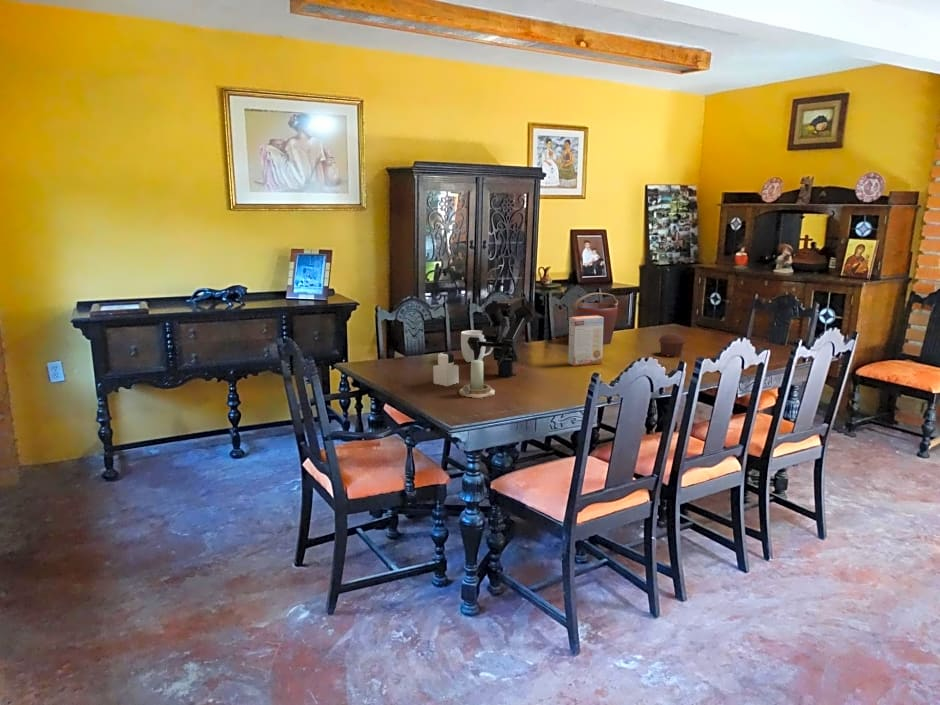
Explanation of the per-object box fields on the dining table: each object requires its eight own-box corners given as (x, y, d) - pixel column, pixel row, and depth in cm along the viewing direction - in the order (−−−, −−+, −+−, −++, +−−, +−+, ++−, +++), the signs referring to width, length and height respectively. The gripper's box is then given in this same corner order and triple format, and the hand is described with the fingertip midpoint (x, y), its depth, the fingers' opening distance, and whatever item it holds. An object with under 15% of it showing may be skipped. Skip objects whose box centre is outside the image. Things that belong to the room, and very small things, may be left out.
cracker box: (595, 361, 304) (597, 314, 299) (602, 364, 298) (604, 316, 294) (567, 363, 299) (568, 316, 295) (573, 366, 294) (575, 318, 289)
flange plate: (473, 386, 261) (473, 376, 260) (501, 392, 253) (501, 381, 252) (452, 394, 250) (452, 383, 250) (480, 400, 243) (480, 389, 242)
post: (478, 388, 255) (478, 359, 252) (485, 391, 251) (485, 361, 249) (468, 390, 252) (468, 361, 250) (475, 392, 248) (475, 363, 246)
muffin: (686, 353, 319) (687, 332, 317) (681, 358, 309) (683, 336, 307) (660, 351, 324) (662, 330, 322) (655, 355, 315) (656, 334, 313)
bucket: (613, 337, 357) (615, 290, 352) (625, 346, 336) (627, 295, 331) (567, 338, 356) (568, 290, 351) (576, 346, 334) (577, 296, 329)
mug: (488, 357, 311) (488, 329, 308) (497, 362, 301) (497, 333, 298) (457, 359, 306) (457, 331, 303) (465, 364, 296) (465, 335, 293)
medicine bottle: (445, 380, 270) (445, 350, 268) (459, 383, 266) (458, 353, 263) (433, 383, 265) (432, 353, 262) (446, 386, 261) (446, 356, 258)
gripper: (468, 316, 262) (457, 349, 255) (514, 319, 255) (504, 354, 248) (476, 332, 271) (465, 365, 264) (521, 336, 264) (511, 370, 256)
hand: (486, 363), depth 258 cm, fingers open, 9 cm apart
